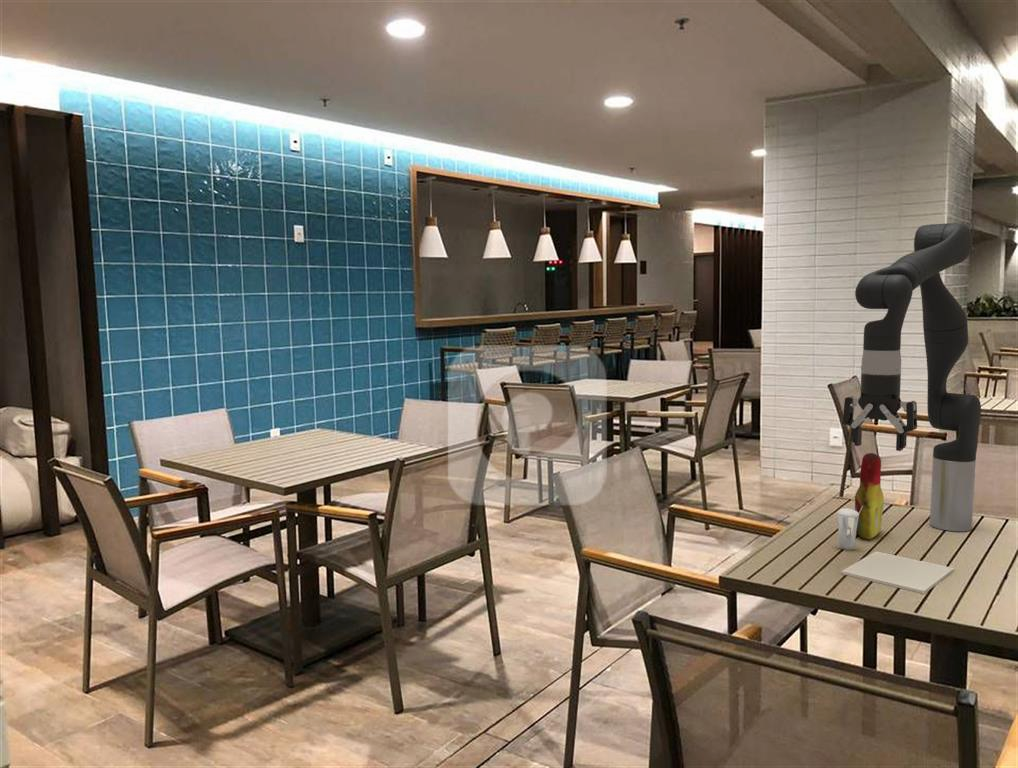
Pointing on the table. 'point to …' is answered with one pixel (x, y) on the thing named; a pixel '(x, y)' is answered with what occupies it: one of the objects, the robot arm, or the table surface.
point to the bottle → (869, 497)
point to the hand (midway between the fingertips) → (878, 447)
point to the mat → (899, 572)
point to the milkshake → (847, 528)
